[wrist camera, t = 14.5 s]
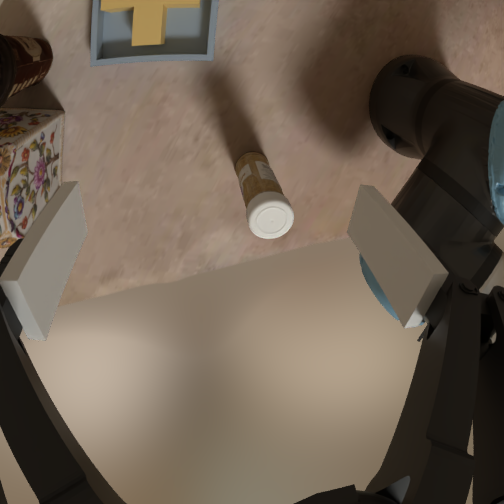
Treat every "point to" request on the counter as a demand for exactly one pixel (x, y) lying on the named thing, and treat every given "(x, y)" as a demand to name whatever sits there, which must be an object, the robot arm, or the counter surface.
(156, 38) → the collar
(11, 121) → the decorative jar
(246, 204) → the sprinkles bottle
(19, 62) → the coffee cup
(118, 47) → the tray
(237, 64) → the counter surface
